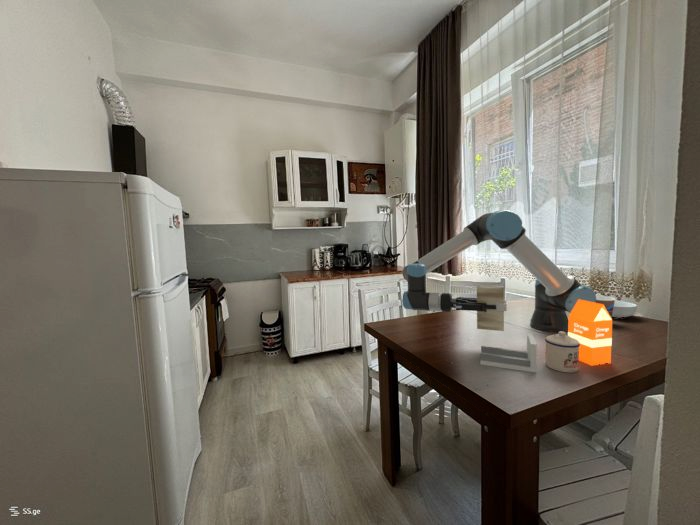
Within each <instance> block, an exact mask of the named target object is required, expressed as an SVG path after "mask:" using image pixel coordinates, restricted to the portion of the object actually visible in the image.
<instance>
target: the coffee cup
mask: <svg viewBox="0 0 700 525" xmlns="http://www.w3.org/2000/svg"><path fill="white" fill-rule="evenodd" d="M615 301H617V300H616V298H615V297H613V296H612V297H611V296H605V295H596V301H595V302H596V303H599V304H603V305H604V306H605V308H606V310H607V312H608V313H609V315H610V317H611V318H612V313H613V308H614V302H615ZM612 319H613V318H612Z"/></svg>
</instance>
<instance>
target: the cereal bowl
mask: <svg viewBox="0 0 700 525" xmlns="http://www.w3.org/2000/svg"><path fill="white" fill-rule="evenodd" d="M614 301H615V302H614V308H613V313H612V316H613V317H624V318H627V317H631V316H634V315H635V314H636V312H637V310H638V305H637V304H635V303H632V302H628V301H621V300H614Z"/></svg>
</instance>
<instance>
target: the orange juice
mask: <svg viewBox="0 0 700 525" xmlns="http://www.w3.org/2000/svg"><path fill="white" fill-rule="evenodd" d="M567 335H568V336H570V337H571V338H574V339H576V340H578V341H579V343H580V346H579V362H582V363H585V364H587V365H590V366H591V367H593V366H599V364H600V365H605V363H608V364H612V362H611V361H612V344H613V318H611V317H610V315H609V313H608V312H607V310H606V308H605V306H604V305H603V304H599V303H594V302H590V301H585V300H580V299H579V300H578V301H577V303H576V305H575V306H574V308H573V310H572V311H571V313H569V314H568V331H567Z"/></svg>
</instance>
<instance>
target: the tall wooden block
mask: <svg viewBox="0 0 700 525" xmlns="http://www.w3.org/2000/svg"><path fill="white" fill-rule="evenodd" d="M504 289H505V287H504V285H476V298H477V302H478V303H486V305H487V303H504V300H505V298H504V296H505V295H504V294H505V292H504V291H505V290H504ZM504 315H505V311H495V310H487V309H486V312H484V311H476V328H477V330H488V331H498V332H504V331H505V325H504V324H505V320H504V318H505V316H504Z"/></svg>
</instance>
